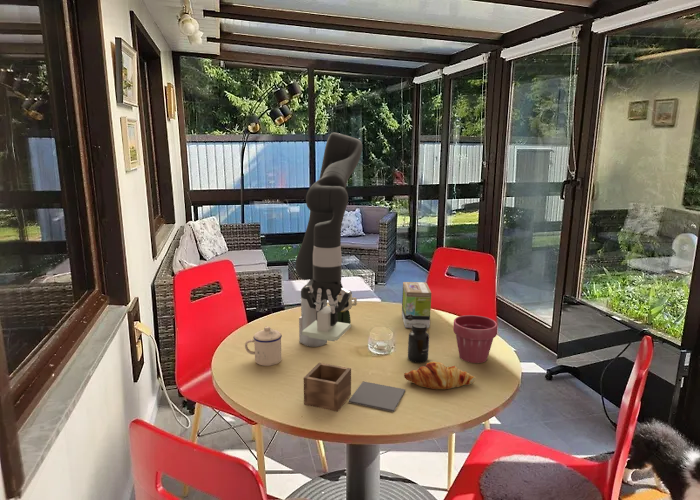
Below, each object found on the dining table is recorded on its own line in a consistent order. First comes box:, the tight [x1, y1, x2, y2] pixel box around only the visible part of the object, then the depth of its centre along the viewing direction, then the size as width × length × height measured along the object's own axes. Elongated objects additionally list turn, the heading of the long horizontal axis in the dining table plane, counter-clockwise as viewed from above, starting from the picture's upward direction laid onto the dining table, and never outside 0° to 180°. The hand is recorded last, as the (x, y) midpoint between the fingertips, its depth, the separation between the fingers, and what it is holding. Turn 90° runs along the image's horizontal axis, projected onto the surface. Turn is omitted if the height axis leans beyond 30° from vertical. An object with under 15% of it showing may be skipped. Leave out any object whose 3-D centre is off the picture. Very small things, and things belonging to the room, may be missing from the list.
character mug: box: [337, 292, 358, 324], centre depth 190 cm, size 11×7×13 cm, turn 87°
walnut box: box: [303, 362, 352, 413], centre depth 134 cm, size 10×10×8 cm
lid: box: [302, 305, 352, 342], centre depth 130 cm, size 10×10×7 cm
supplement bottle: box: [407, 323, 430, 364], centre depth 159 cm, size 7×7×12 cm
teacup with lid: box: [244, 326, 283, 367], centre depth 157 cm, size 12×9×12 cm
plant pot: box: [452, 314, 498, 364], centre depth 161 cm, size 14×14×13 cm
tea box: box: [401, 281, 432, 329], centre depth 193 cm, size 15×10×15 cm
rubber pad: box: [348, 381, 406, 413], centre depth 136 cm, size 13×12×1 cm
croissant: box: [403, 361, 476, 390], centre depth 144 cm, size 21×10×8 cm, turn 90°
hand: (327, 324), depth 130 cm, fingers closed on lid, 3 cm apart
